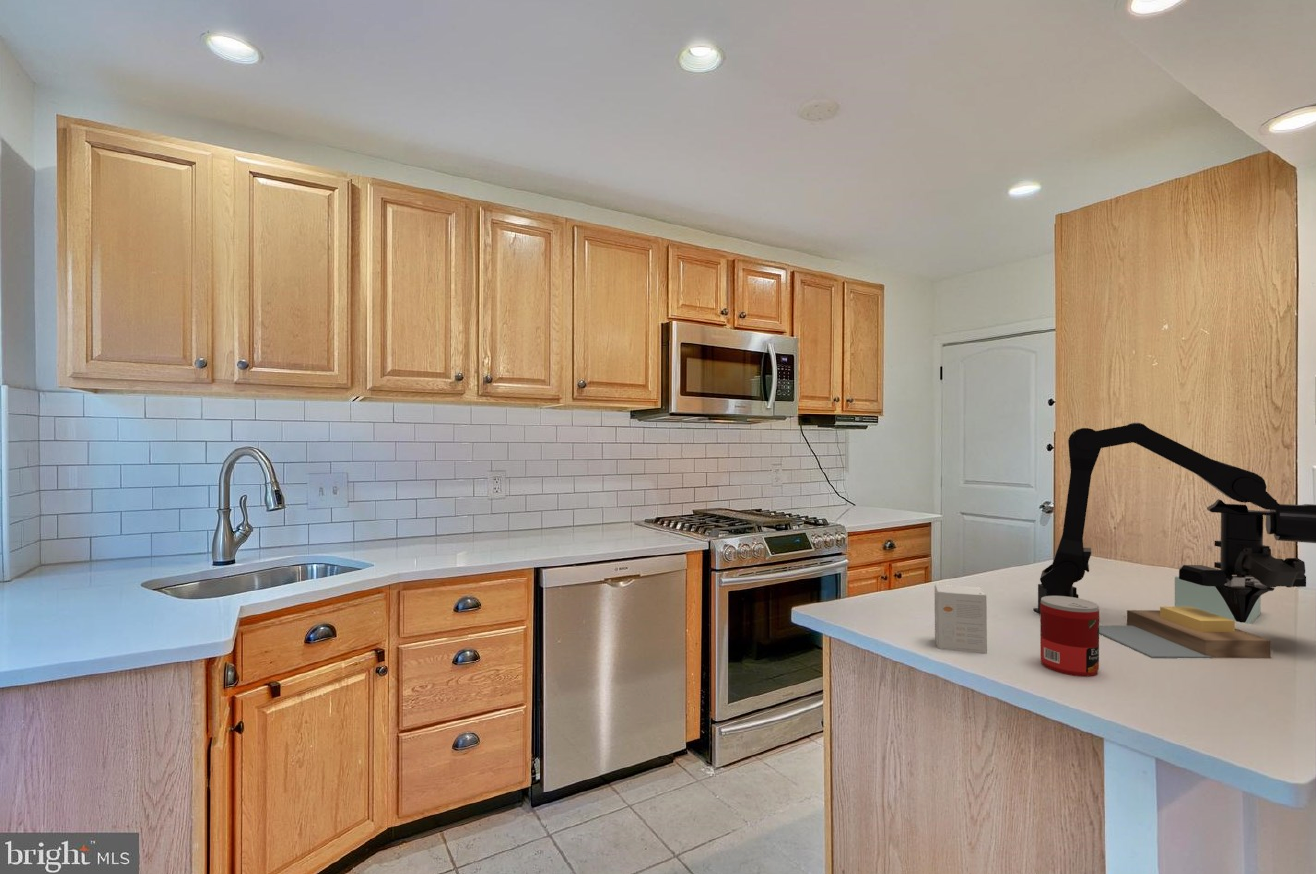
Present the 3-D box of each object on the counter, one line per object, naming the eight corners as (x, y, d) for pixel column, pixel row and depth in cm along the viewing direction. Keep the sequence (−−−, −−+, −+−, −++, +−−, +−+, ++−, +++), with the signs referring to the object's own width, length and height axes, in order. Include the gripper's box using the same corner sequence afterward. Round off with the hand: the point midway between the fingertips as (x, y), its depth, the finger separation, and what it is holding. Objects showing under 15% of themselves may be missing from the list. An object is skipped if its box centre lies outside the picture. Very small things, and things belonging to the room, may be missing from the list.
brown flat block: (1205, 657, 106) (1205, 640, 106) (1126, 625, 124) (1127, 610, 124) (1270, 658, 106) (1270, 640, 106) (1182, 625, 124) (1182, 610, 124)
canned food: (1100, 682, 96) (1101, 611, 95) (1040, 671, 100) (1040, 603, 100) (1097, 666, 102) (1097, 599, 102) (1040, 657, 106) (1040, 593, 106)
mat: (1152, 658, 105) (1152, 656, 105) (1084, 627, 122) (1084, 625, 122) (1211, 658, 105) (1211, 656, 105) (1135, 627, 122) (1135, 625, 122)
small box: (982, 644, 112) (982, 587, 112) (987, 655, 107) (987, 594, 107) (934, 640, 115) (934, 583, 115) (937, 650, 110) (937, 591, 110)
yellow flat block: (1200, 632, 110) (1200, 620, 110) (1160, 617, 119) (1160, 606, 119) (1234, 632, 110) (1234, 620, 110) (1191, 617, 119) (1191, 606, 119)
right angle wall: (1260, 613, 132) (1260, 578, 132) (1250, 624, 125) (1250, 587, 125) (1188, 601, 141) (1188, 568, 141) (1174, 611, 134) (1174, 576, 134)
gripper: (1230, 545, 106) (1229, 636, 107) (1339, 546, 106) (1338, 636, 106) (1176, 535, 118) (1176, 616, 118) (1275, 535, 117) (1274, 617, 118)
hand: (1240, 622), depth 115 cm, fingers closed
